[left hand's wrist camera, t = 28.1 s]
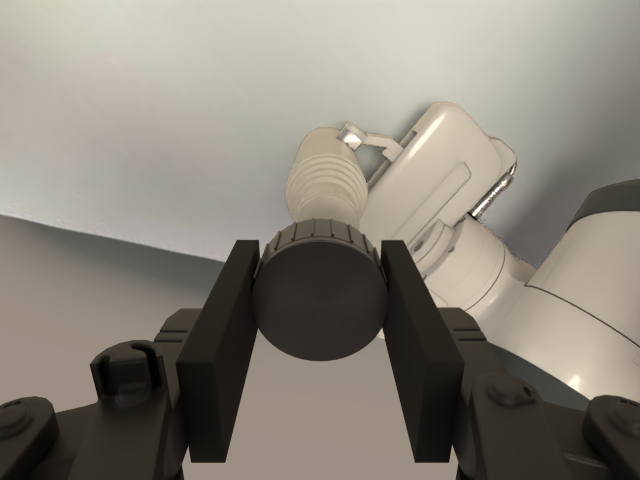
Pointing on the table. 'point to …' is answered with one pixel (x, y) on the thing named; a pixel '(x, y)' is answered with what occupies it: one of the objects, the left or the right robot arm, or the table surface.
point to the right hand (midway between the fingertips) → (317, 161)
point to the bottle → (326, 180)
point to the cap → (320, 291)
